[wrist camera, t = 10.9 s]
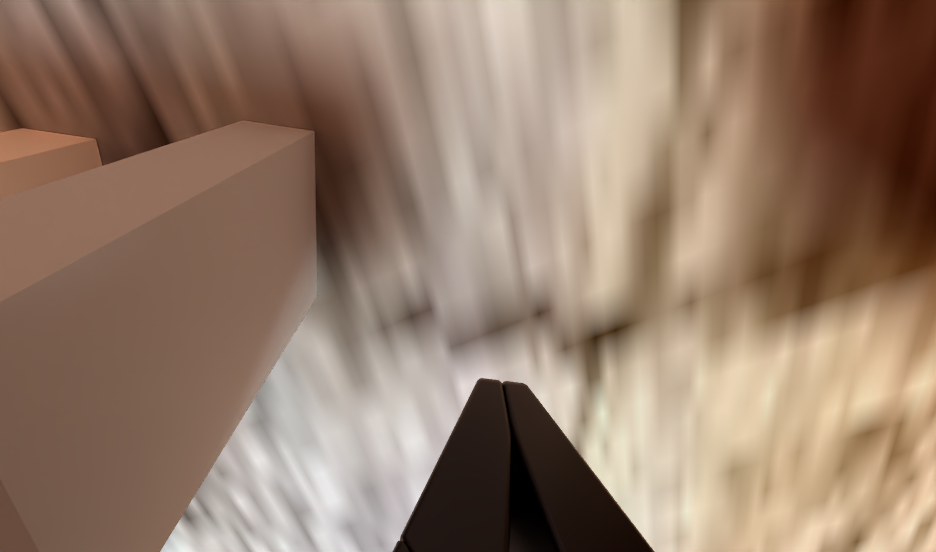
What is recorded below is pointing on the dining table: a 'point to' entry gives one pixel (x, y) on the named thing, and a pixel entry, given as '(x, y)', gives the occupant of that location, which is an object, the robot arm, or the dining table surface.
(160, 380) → the domino
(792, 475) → the dining table surface
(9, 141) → the domino
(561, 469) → the robot arm
